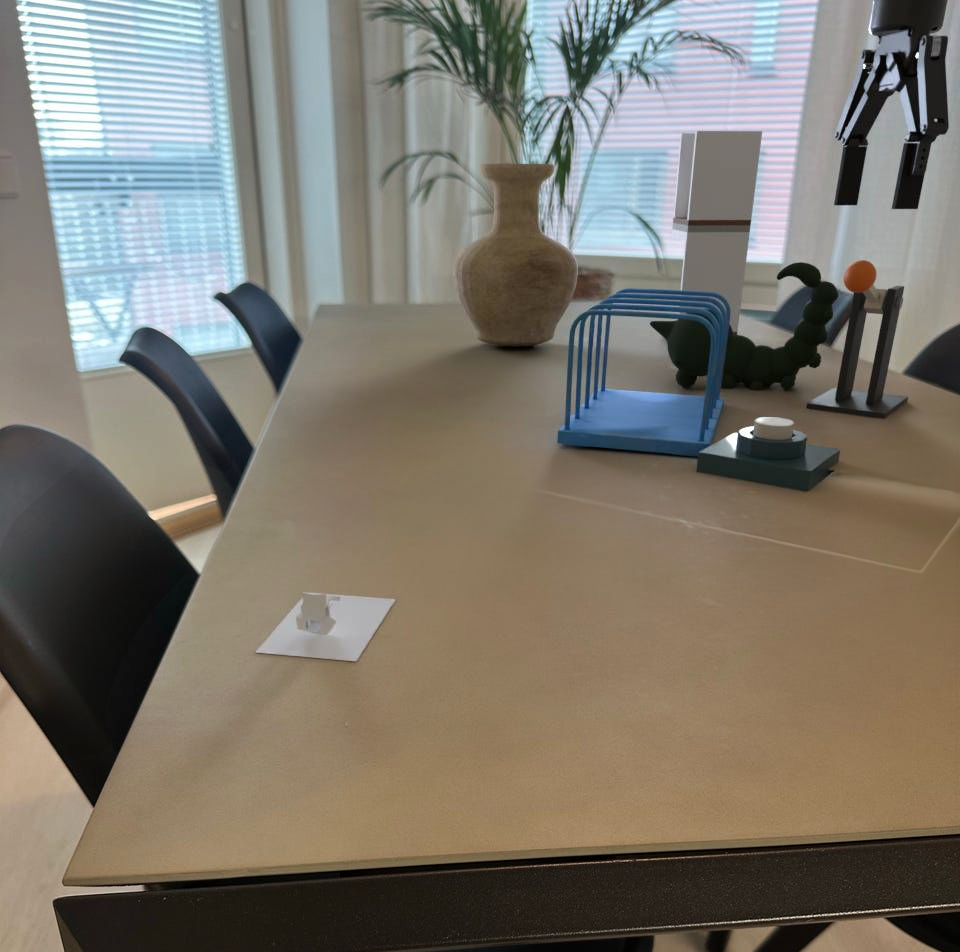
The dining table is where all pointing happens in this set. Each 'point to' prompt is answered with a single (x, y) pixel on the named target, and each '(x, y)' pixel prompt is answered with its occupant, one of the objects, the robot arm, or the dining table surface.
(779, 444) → the button base
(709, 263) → the display case
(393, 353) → the dining table surface
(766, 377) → the toy figurine
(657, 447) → the file sorter
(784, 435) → the white button cap
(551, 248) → the vase
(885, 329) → the orange ball swing frame
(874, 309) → the switch lever
